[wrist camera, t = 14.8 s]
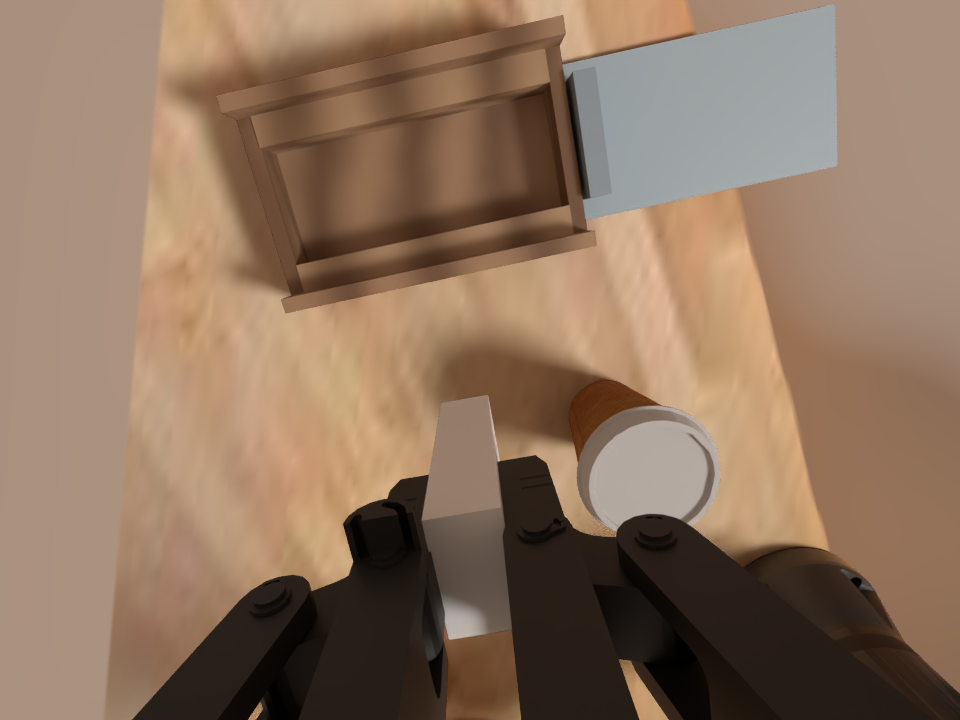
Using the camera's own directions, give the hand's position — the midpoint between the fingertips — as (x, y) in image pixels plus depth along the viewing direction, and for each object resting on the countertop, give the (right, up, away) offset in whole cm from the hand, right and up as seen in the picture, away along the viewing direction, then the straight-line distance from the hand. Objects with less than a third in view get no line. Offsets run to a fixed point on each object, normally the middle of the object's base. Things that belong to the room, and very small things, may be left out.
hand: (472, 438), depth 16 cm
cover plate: (+17, +21, +22) cm, 35 cm away
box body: (-4, +16, +22) cm, 28 cm away
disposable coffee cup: (+11, -2, +28) cm, 30 cm away
